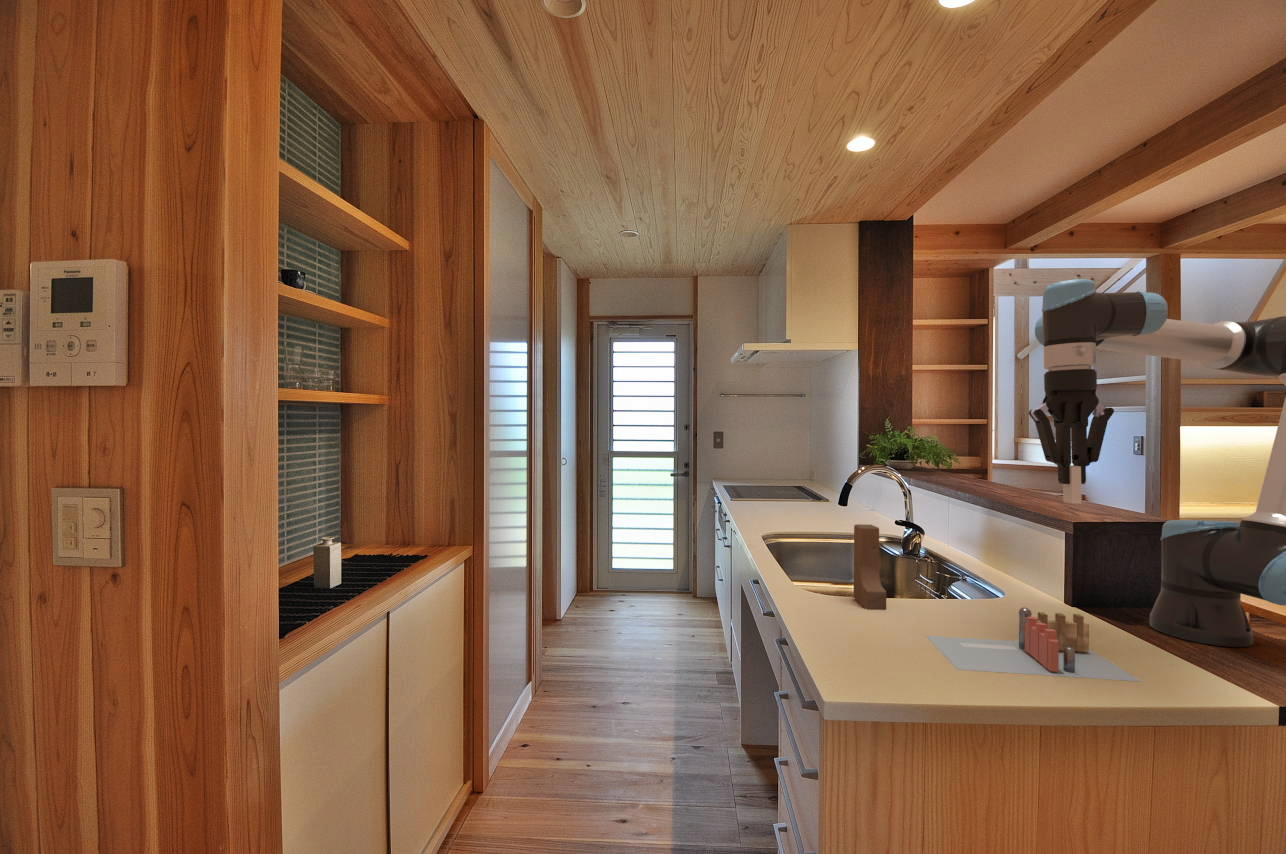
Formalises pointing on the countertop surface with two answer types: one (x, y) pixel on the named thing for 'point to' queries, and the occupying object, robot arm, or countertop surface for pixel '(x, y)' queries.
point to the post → (1023, 625)
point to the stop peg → (1069, 659)
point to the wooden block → (867, 568)
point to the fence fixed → (1068, 631)
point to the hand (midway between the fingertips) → (1072, 502)
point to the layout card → (1021, 659)
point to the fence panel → (1042, 643)
